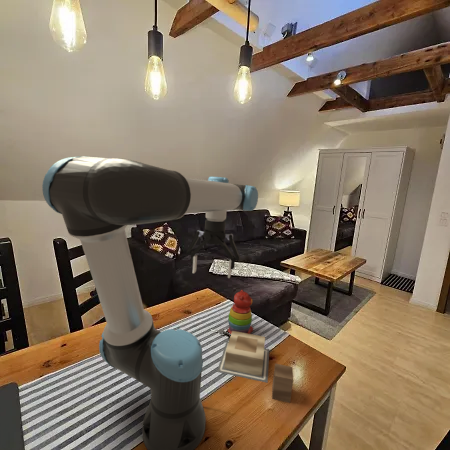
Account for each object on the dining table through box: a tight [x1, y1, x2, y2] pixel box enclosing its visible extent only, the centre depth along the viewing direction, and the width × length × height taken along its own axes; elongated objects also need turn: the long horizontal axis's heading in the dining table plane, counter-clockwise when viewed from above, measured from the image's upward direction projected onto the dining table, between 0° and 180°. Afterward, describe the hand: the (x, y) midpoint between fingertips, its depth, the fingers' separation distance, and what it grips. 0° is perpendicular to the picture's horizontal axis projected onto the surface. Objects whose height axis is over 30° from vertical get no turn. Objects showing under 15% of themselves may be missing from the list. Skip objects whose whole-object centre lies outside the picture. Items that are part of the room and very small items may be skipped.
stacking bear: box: [227, 289, 254, 334], centre depth 101 cm, size 11×10×18 cm
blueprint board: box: [216, 340, 270, 383], centre depth 87 cm, size 16×16×1 cm
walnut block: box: [271, 363, 294, 404], centre depth 74 cm, size 5×5×8 cm
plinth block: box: [224, 331, 266, 376], centre depth 87 cm, size 12×12×6 cm
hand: (211, 274), depth 97 cm, fingers open, 13 cm apart
